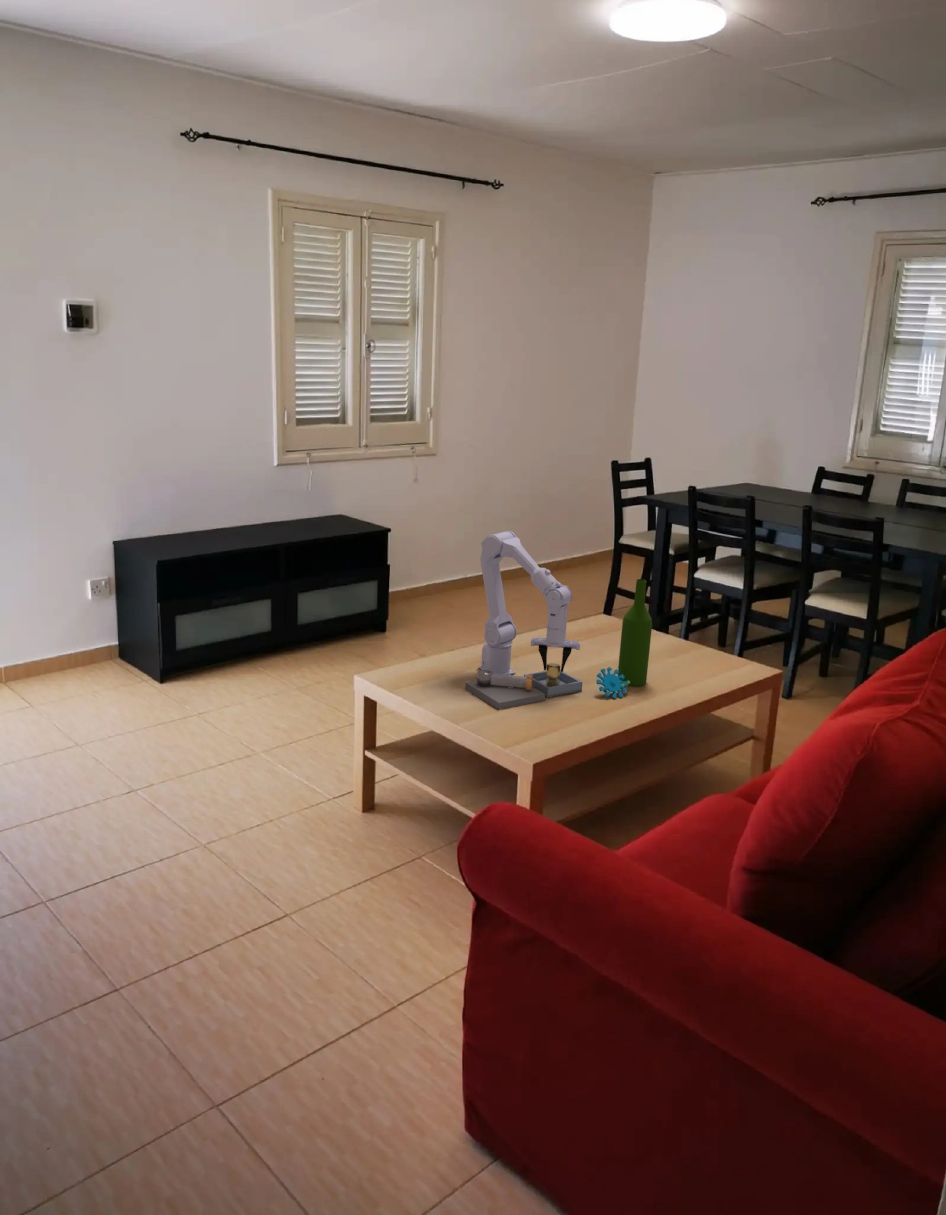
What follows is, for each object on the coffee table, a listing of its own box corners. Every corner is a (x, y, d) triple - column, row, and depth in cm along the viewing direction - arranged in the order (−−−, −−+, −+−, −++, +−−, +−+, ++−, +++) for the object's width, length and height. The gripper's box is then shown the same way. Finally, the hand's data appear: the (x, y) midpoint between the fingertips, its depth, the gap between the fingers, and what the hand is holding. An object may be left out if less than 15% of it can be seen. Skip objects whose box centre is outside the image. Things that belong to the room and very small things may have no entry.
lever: (475, 686, 276) (476, 674, 275) (478, 679, 281) (478, 668, 280) (531, 690, 274) (531, 679, 273) (532, 684, 279) (533, 673, 278)
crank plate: (465, 688, 280) (465, 682, 279) (510, 680, 288) (510, 674, 288) (498, 709, 265) (499, 702, 265) (544, 700, 274) (545, 693, 273)
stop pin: (543, 684, 284) (544, 664, 283) (554, 682, 286) (555, 662, 285) (551, 689, 281) (551, 668, 279) (561, 686, 283) (562, 666, 281)
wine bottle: (623, 674, 298) (632, 574, 289) (650, 680, 294) (660, 579, 285) (612, 682, 290) (622, 580, 281) (640, 688, 286) (650, 585, 277)
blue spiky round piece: (600, 695, 275) (595, 664, 280) (591, 703, 280) (587, 673, 284) (634, 698, 278) (628, 667, 283) (625, 706, 283) (619, 675, 288)
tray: (523, 683, 286) (523, 674, 285) (556, 677, 292) (557, 668, 292) (547, 697, 276) (548, 688, 275) (581, 691, 282) (582, 681, 281)
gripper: (531, 628, 276) (528, 672, 280) (580, 632, 274) (577, 676, 278) (533, 621, 283) (530, 664, 286) (581, 625, 281) (578, 668, 285)
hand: (553, 670), depth 283 cm, fingers open, 4 cm apart
